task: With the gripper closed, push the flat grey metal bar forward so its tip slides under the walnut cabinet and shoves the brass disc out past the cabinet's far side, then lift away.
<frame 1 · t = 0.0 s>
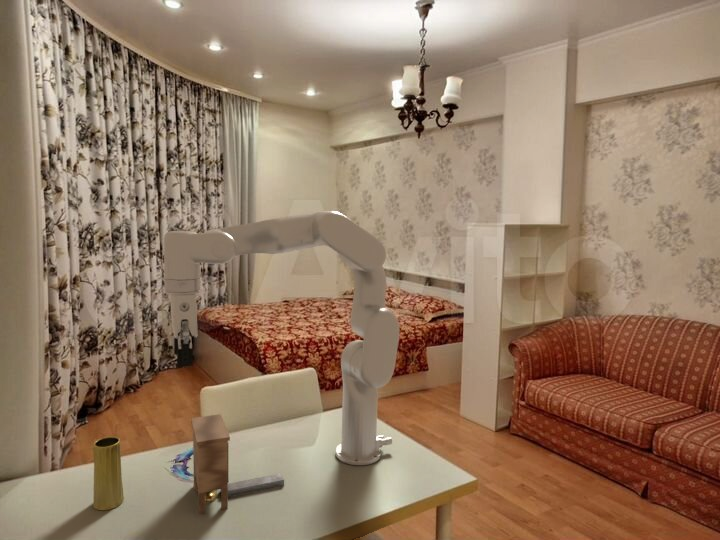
hand: (183, 359, 111), 31 cm above the table, tool pointing down, fingers open, 9 cm apart
token: (207, 498, 111), on the table
decorative blades: (185, 465, 126), on the table
vase: (108, 503, 108), on the table
bar: (252, 490, 115), on the table
cabinet: (210, 497, 111), on the table
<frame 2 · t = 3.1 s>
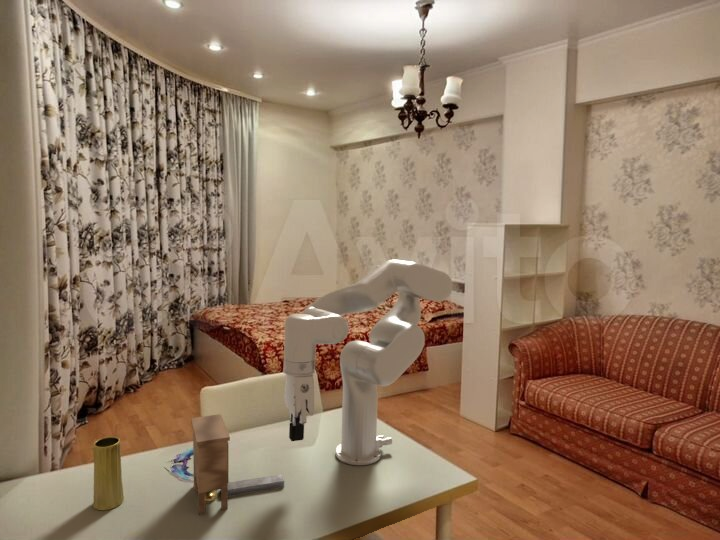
hand: (296, 439, 118), 11 cm above the table, tool pointing down, fingers closed
nothing on the table moved.
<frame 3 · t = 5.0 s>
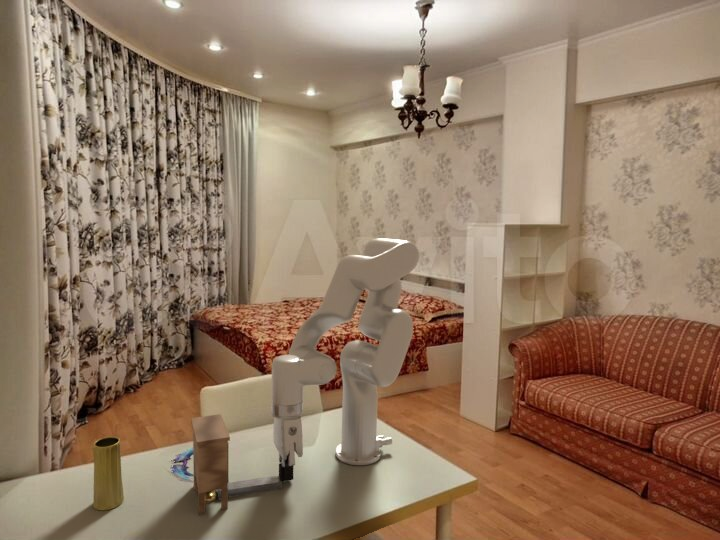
hand: (285, 479, 118), 1 cm above the table, tool pointing down, fingers closed
bar: (249, 491, 114), on the table, touching gripper
everything else where it was.
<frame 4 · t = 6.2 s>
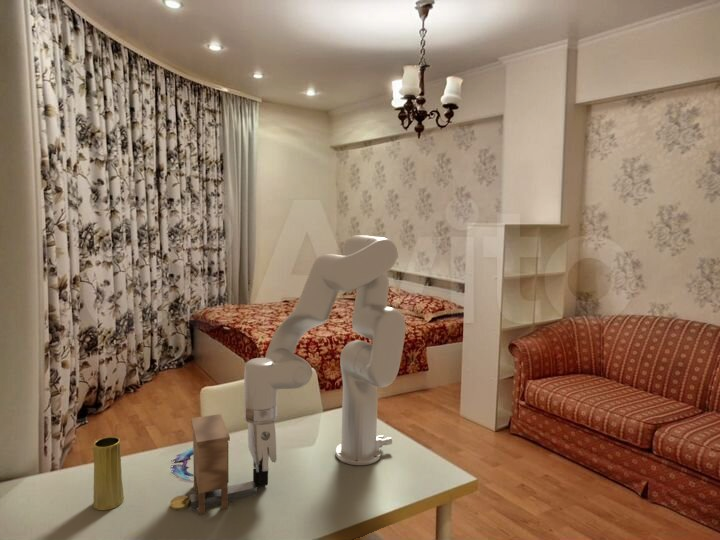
hand: (260, 484, 116), 1 cm above the table, tool pointing down, fingers closed
token: (180, 505, 108), on the table, touching bar
bar: (223, 499, 111), on the table, touching gripper, token
everything else where it was.
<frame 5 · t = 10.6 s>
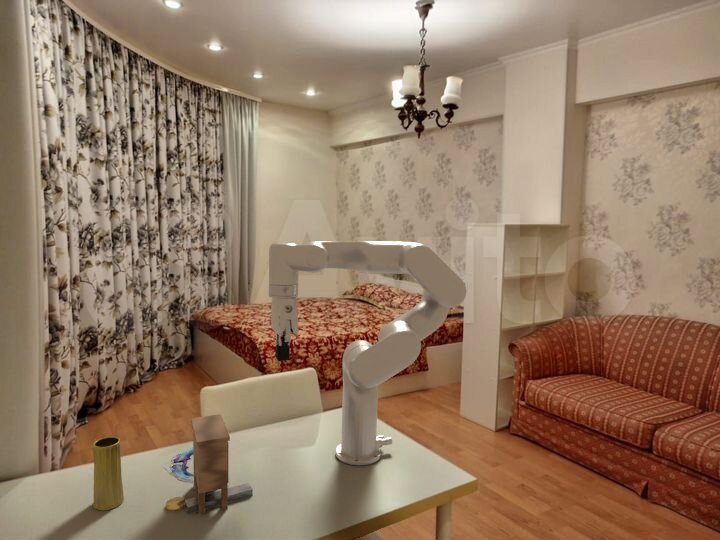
hand: (282, 359, 127), 27 cm above the table, tool pointing down, fingers closed
token: (175, 507, 107), on the table
bar: (219, 502, 110), on the table
everything else where it was.
at the end: token inside the target area (4.2 cm from its centre), on the table; bar moved 8.3 cm from its start; token touching table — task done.
